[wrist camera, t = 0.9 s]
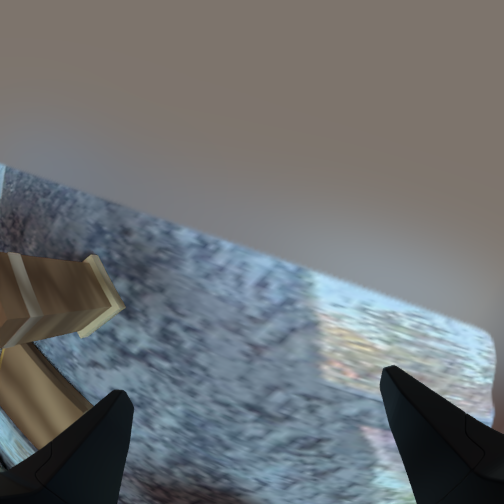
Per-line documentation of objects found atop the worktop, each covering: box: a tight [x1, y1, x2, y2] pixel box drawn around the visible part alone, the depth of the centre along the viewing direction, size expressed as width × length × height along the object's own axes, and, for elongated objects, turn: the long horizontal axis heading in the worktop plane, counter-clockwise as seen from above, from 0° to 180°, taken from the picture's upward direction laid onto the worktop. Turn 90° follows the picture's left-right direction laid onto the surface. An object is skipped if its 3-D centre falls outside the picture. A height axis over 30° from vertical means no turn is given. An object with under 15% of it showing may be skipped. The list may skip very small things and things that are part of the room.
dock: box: [0, 342, 93, 450], centre depth 22 cm, size 12×12×2 cm
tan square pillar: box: [0, 252, 126, 349], centre depth 17 cm, size 6×6×13 cm
